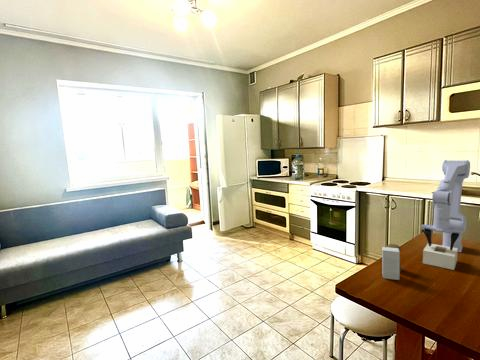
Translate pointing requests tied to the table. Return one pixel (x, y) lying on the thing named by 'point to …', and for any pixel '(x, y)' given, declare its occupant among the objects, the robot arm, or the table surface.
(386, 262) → the skincare box
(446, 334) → the table surface
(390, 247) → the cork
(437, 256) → the slot box
